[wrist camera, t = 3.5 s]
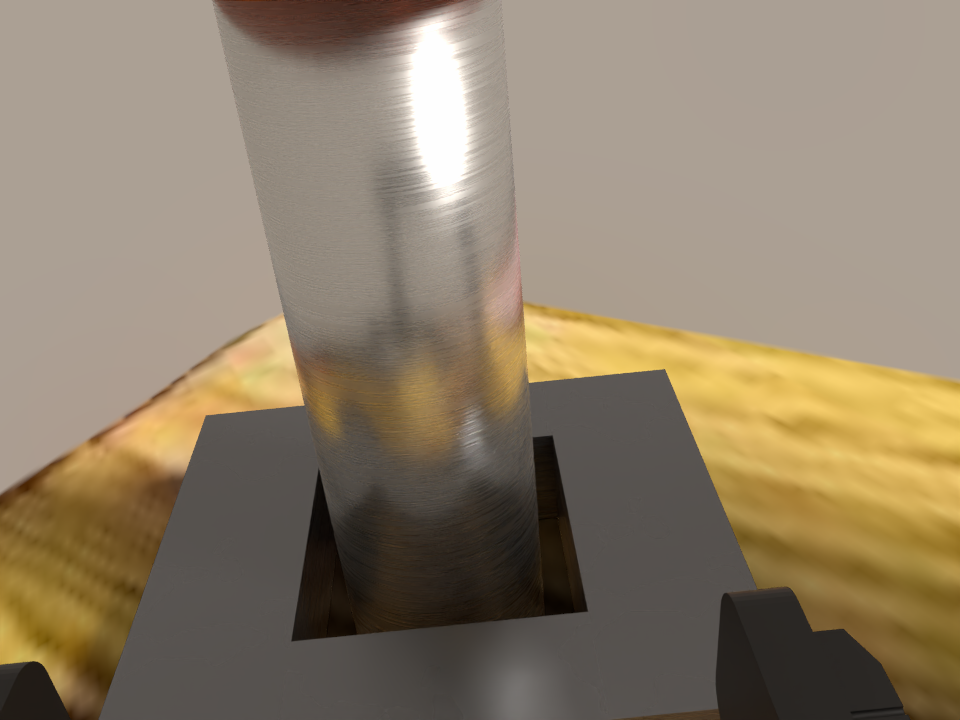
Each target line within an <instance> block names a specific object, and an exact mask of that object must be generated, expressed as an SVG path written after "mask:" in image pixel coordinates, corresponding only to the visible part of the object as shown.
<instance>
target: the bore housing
mask: <svg viewBox="0 0 960 720" xmlns="http://www.w3.org/2000/svg"><path fill="white" fill-rule="evenodd" d="M529 396H530V410H531V424H532V438H533V452H534V466H535V480H536V494H537V508H538V519H543V518H553V517H557V518H558V524H559V529H560V535H561V540H562V546H563V551H564V556H565V562H566V567H567V573H568V578H569V584H570V589H571V594H572V600H573V605H574V611H575V613H571V614H561V615H551V616H541V617H531V618H521V619H511V620H501V621H491V622H481V623H471V624H461V625H451V626H441V627H431V628H421V629H411V630H401V631H391V632H381V633H371V634H361V635H351V636H342V637H332V638H327V630H328V621H329V613H330V604H331V596H332V587H333V579H334V570H335V561H336V553H337V545H336V540H335V536H334V531H333V527H332V523H331V518H330V514H329V510H328V505H327V501H326V496H325V492H324V488H323V483H322V479H321V475H320V470H319V466H318V461H317V457H316V453H315V448H314V444H313V440H312V435H311V431H310V426H309V422H308V418H307V413H306V409H305V406H296V407H286V408H276V409H266V410H256V411H246V412H236V413H226V414H216V415H206V417H205V420H204V423H203V425H202V428H201V431H200V434H199V437H198V440H197V442H196V445H195V448H194V451H193V454H192V456H191V459H190V462H189V465H188V468H187V471H186V473H185V476H184V479H183V482H182V485H181V488H180V490H179V493H178V496H177V499H176V502H175V505H174V507H173V510H172V513H171V516H170V519H169V522H168V524H167V527H166V530H165V533H164V536H163V538H162V541H161V544H160V547H159V550H158V553H157V555H156V558H155V561H154V564H153V567H152V570H151V572H150V575H149V578H148V581H147V584H146V587H145V589H144V592H143V595H142V598H141V601H140V604H139V606H138V609H137V612H136V615H135V618H134V620H133V623H132V626H131V629H130V632H129V635H128V637H127V640H126V643H125V646H124V649H123V652H122V654H121V657H120V660H119V663H118V666H117V669H116V671H115V674H114V677H113V680H112V683H111V686H110V688H109V691H108V694H107V697H106V700H105V702H104V705H103V708H102V711H101V714H100V717H99V719H98V720H721V719H720V715H719V709H718V703H717V695H716V681H715V679H716V662H717V648H718V635H719V621H720V607H721V599H722V596H723V594H724V593H728V592H738V591H748V590H757V587H756V585H755V582H754V580H753V578H752V575H751V573H750V571H749V568H748V566H747V563H746V561H745V559H744V556H743V554H742V551H741V549H740V547H739V544H738V542H737V540H736V537H735V535H734V532H733V530H732V528H731V525H730V523H729V521H728V518H727V516H726V513H725V511H724V509H723V506H722V504H721V502H720V499H719V497H718V494H717V492H716V490H715V487H714V485H713V482H712V480H711V478H710V475H709V473H708V471H707V468H706V466H705V463H704V461H703V459H702V456H701V454H700V452H699V449H698V447H697V444H696V442H695V440H694V437H693V435H692V432H691V430H690V428H689V425H688V423H687V421H686V418H685V416H684V413H683V411H682V409H681V406H680V404H679V402H678V399H677V397H676V394H675V392H674V390H673V387H672V385H671V383H670V380H669V378H668V375H667V373H666V371H665V369H663V370H653V371H643V372H633V373H623V374H613V375H604V376H594V377H584V378H574V379H564V380H554V381H544V382H534V383H529Z"/></svg>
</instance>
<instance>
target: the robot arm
mask: <svg viewBox="0 0 960 720" xmlns="http://www.w3.org/2000/svg"><path fill="white" fill-rule="evenodd" d="M715 681H716V695H717V703H718V709H719V715H720V719H721V720H910V718H909V716H908V715H905V713H904V710H903V705H902V703H901V701H900V699H899V697H898V695H897V693H896V691H895V689H894V688H893V686H892V684H891V682H890V680H889V678H888V676H887V674H886V672H885V671H884V669H883V667H882V665H881V663H880V662H879V661H878V660H876V659H875V658H874V657H873V656H872V655H871V654H870V653H869V652H868V651H867V650H866V649H865V648H863V647H862V646H861V645H860V644H859V643H858V642H857V641H856V640H855V639H854V638H853V637H852V636H851V635H849V634H848V633H847V632H846V631H845V630H844V629H836V630H826V631H817V632H813V631H812V629H811V627H810V625H809V623H808V621H807V619H806V616H805V614H804V612H803V610H802V608H801V606H800V604H799V601H798V599H797V598H796V596H795V594H794V593H793V591H792V590H791V589H790V588H788V587H777V588H767V589H758V590H748V591H738V592H728V593H724V594H723V596H722V599H721V607H720V621H719V635H718V648H717V662H716V679H715ZM0 720H71V719H70V717H69V715H68V713H67V711H66V709H65V707H64V705H63V703H62V701H61V699H60V697H59V695H58V693H57V691H56V689H55V687H54V685H53V683H52V681H51V679H50V677H49V675H48V673H47V671H46V669H45V668H44V666H43V665H42V664H40V663H39V662H35V661H32V662H23V663H13V664H3V665H0Z"/></svg>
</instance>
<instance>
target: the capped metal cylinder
mask: <svg viewBox="0 0 960 720" xmlns="http://www.w3.org/2000/svg"><path fill="white" fill-rule="evenodd" d="M212 1H213V6H214V10H215V15H216V19H217V23H218V28H219V32H220V36H221V41H222V45H223V50H224V54H225V58H226V62H227V67H228V72H229V76H230V80H231V85H232V89H233V93H234V98H235V102H236V107H237V111H238V115H239V120H240V124H241V129H242V133H243V137H244V141H245V146H246V150H247V155H248V159H249V163H250V168H251V172H252V176H253V180H254V185H255V189H256V194H257V199H258V203H259V207H260V212H261V216H262V220H263V225H264V229H265V234H266V238H267V242H268V247H269V251H270V255H271V260H272V264H273V269H274V273H275V277H276V282H277V286H278V290H279V295H280V299H281V304H282V308H283V312H284V317H285V321H286V326H287V330H288V334H289V339H290V343H291V348H292V352H293V356H294V361H295V365H296V369H297V374H298V378H299V383H300V387H301V391H302V396H303V400H304V404H305V409H306V413H307V418H308V422H309V426H310V431H311V435H312V440H313V444H314V448H315V453H316V457H317V461H318V466H319V470H320V475H321V479H322V483H323V488H324V492H325V496H326V501H327V505H328V510H329V514H330V518H331V523H332V527H333V531H334V536H335V540H336V545H337V549H338V553H339V558H340V562H341V567H342V571H343V575H344V580H345V584H346V588H347V593H348V597H349V602H350V606H351V610H352V615H353V619H354V623H355V628H356V632H357V635H361V634H371V633H381V632H391V631H401V630H411V629H421V628H431V627H441V626H451V625H461V624H471V623H481V622H491V621H501V620H511V619H521V618H531V617H541V616H544V614H545V607H544V592H543V578H542V564H541V550H540V536H539V522H538V508H537V494H536V480H535V466H534V452H533V438H532V424H531V410H530V396H529V382H528V368H527V354H526V340H525V326H524V312H523V299H522V286H521V285H522V284H521V272H520V257H519V244H518V228H517V214H516V200H515V186H514V172H513V158H512V144H511V130H510V116H509V102H508V89H507V74H506V60H505V46H504V32H503V18H502V4H501V0H212Z"/></svg>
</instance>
